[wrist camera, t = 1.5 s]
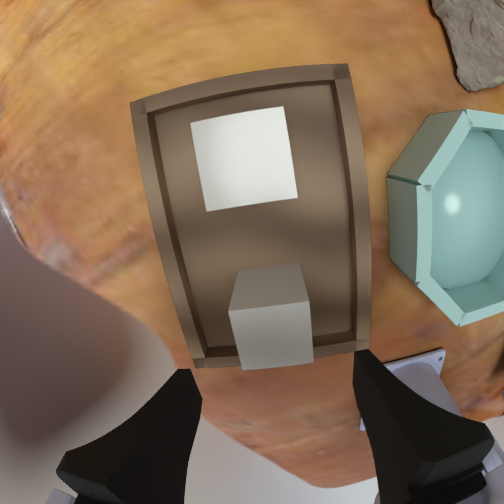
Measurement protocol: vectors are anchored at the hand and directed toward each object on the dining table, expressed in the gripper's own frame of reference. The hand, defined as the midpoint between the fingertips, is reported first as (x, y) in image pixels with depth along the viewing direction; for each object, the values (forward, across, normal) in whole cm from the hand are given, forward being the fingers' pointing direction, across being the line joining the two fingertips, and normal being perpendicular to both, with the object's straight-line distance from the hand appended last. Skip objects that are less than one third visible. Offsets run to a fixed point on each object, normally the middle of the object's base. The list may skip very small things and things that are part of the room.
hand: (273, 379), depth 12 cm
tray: (+9, 0, -4) cm, 10 cm away
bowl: (+9, -16, -4) cm, 18 cm away
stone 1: (+8, 0, -9) cm, 12 cm away
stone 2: (+8, 0, 0) cm, 8 cm away
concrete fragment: (+9, -19, -20) cm, 29 cm away
